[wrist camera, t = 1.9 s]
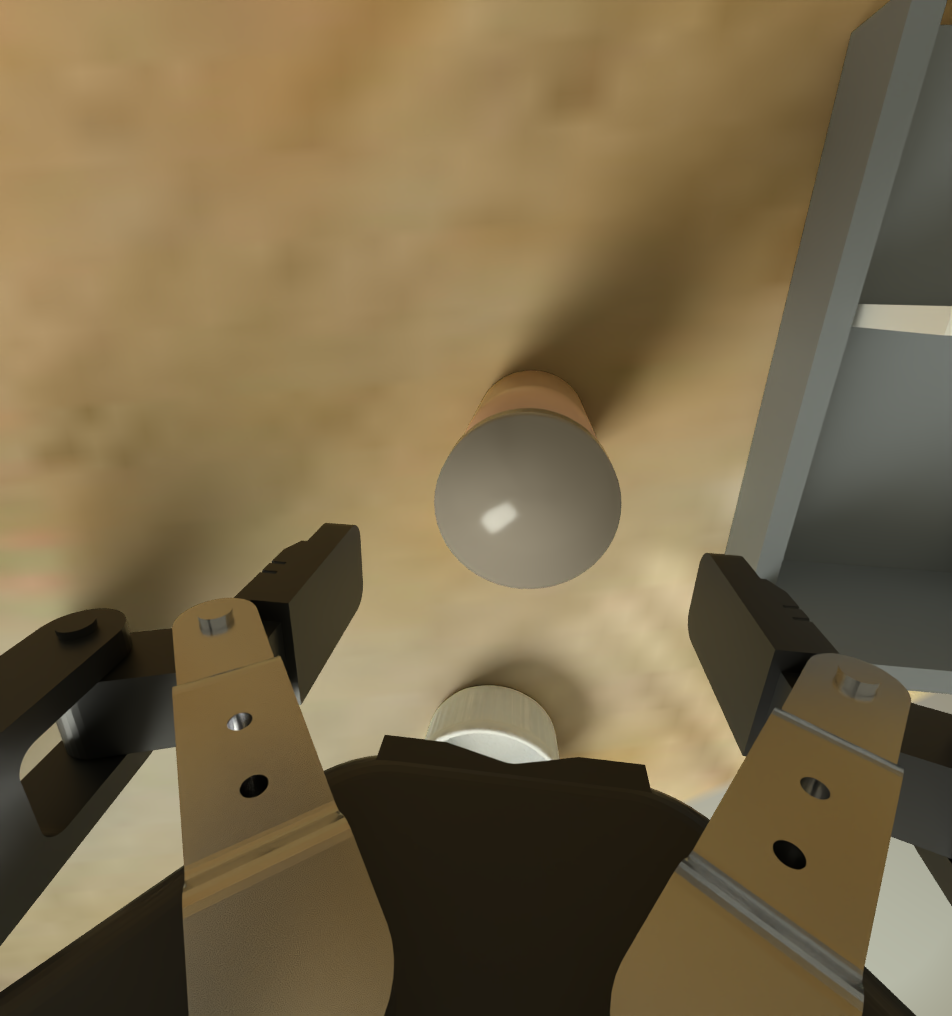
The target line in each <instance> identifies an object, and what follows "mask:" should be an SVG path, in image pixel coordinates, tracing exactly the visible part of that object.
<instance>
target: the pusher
mask: <svg viewBox="0 0 952 1016" xmlns="http://www.w3.org/2000/svg"><path fill="white" fill-rule="evenodd" d="M851 327H861V328H872V329H882V330H892V331H903V332H913V333H924V334H934V335H946V336H952V306H920V305H878V304H858V306H857V309H856V313H855V316H854V319H853V323H852V326H851Z"/></svg>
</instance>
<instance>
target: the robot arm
mask: <svg viewBox="0 0 952 1016" xmlns="http://www.w3.org/2000/svg"><path fill="white" fill-rule="evenodd" d="M362 591H363V576H362V559H361V541H360V532H359V529H358V527H357V526H356V525H346V524H333V523H325V524H323V525H322V526H321V527H320V528H319V530H318V531H317V532H316V533H315V534H314V535H313V536H312V537H311V538H310V539H309V540H308V541H300V542H298V543H296V544H294V545H292V546H290V547H288V548H286V549H284V550H283V551H282V552H281V553H280V554H279V555H278V556H277V557H275V558H274V559H273V560H272V563H269V564H268V565H267V566H266V567H265V568H264V569H263V571H262V573H261V572H260V573H259V574H258V575H257V576H256V577H255V578H254V579H253V580H252V581H251V582H250V583H249V584H248V585H247V586H245V587H244V588H243V589H242V590H241V591H240V592H239V593H238V594H237V595H236V596H235V597H234V598H221V599H215V600H211V601H207V602H204V603H201V604H198V605H196V606H194V607H191V608H190V609H188V610H186V611H185V612H183V613H182V614H181V615H180V616H179V617H178V618H177V619H176V620H175V621H174V624H173V627H172V628H171V629H162V630H152V631H143V632H133V633H130V632H129V628H128V624H127V620H126V617H125V615H124V614H123V613H122V612H120V611H118V610H114V609H91V610H84V611H80V612H76V613H72V614H69V615H66V616H63V617H60V618H58V619H56V620H53V621H51V622H49V623H48V624H46V625H44V626H42V627H41V628H39V629H38V630H36V631H35V632H34V633H32V634H31V635H29V636H28V637H26V638H25V639H24V640H22V641H21V642H19V643H18V644H16V645H15V646H14V647H12V648H11V649H9V650H8V651H6V652H5V653H4V654H2V655H1V656H0V946H1V944H2V943H3V942H4V941H5V939H6V938H7V937H8V936H9V934H10V933H11V932H12V930H13V929H14V928H15V927H16V925H17V924H18V923H19V921H20V920H21V919H22V918H23V916H24V915H25V914H26V913H27V911H28V910H29V909H30V907H31V906H32V905H33V904H34V902H35V901H36V900H37V898H38V897H39V896H40V895H41V893H42V892H43V891H44V890H45V888H46V887H47V886H48V884H49V883H50V882H51V881H52V879H53V878H54V877H55V875H56V874H57V873H58V872H59V870H60V869H61V868H62V867H63V865H64V864H65V863H66V861H67V860H68V859H69V858H70V856H71V855H72V854H73V852H74V851H75V850H76V849H77V847H78V846H79V845H80V844H81V842H82V841H83V840H84V838H85V837H86V836H87V835H88V833H89V832H90V831H91V829H92V828H93V827H94V826H95V824H96V823H97V822H98V821H99V819H100V818H101V817H102V815H103V814H104V813H105V812H106V810H107V809H108V808H109V807H110V805H111V804H112V803H113V801H114V800H115V799H116V798H117V796H118V795H119V794H120V792H121V791H122V790H123V789H124V787H125V786H126V785H127V784H128V782H129V781H130V780H131V778H132V777H133V776H134V775H135V773H136V772H137V771H138V769H139V768H140V767H141V766H142V764H143V763H144V762H145V761H146V759H147V758H148V757H149V755H150V754H151V753H152V751H153V750H158V749H164V748H171V747H176V756H177V770H178V785H179V799H180V814H181V828H182V843H183V857H184V866H182V867H181V868H179V869H178V870H176V871H175V872H173V873H172V874H171V875H169V876H168V877H166V878H165V879H163V880H162V881H160V882H159V883H158V884H156V885H155V886H153V887H152V888H150V889H149V890H147V891H146V892H144V893H143V894H142V895H140V896H139V897H137V898H136V899H134V900H133V901H131V902H130V903H129V904H127V905H126V906H124V907H123V908H121V909H120V910H118V911H117V912H116V913H114V914H113V915H111V916H110V917H108V918H107V919H105V920H104V921H103V922H101V923H100V924H98V925H97V926H95V927H94V928H92V929H91V930H90V931H88V932H87V933H85V934H84V935H82V936H81V937H79V938H78V939H77V940H75V941H74V942H72V943H71V944H69V945H68V946H66V947H65V948H64V949H62V950H61V951H59V952H58V953H56V954H55V955H53V956H52V957H50V958H49V959H48V960H46V961H45V962H43V963H42V964H40V965H39V966H37V967H36V968H35V969H33V970H32V971H30V972H29V973H27V974H26V975H24V976H23V977H22V978H20V979H19V980H17V981H16V982H14V983H13V984H11V985H10V986H9V987H7V988H6V989H4V990H3V991H1V992H0V1016H916V1015H915V1014H914V1013H913V1012H912V1011H911V1010H910V1009H909V1008H908V1007H907V1006H906V1005H904V1004H903V1003H902V1002H901V1001H900V1000H899V999H898V998H897V997H896V996H895V995H894V994H893V993H892V992H891V991H890V990H889V989H888V988H887V987H886V986H885V985H884V984H883V983H882V982H881V981H879V980H878V979H877V978H876V977H875V976H874V975H873V974H872V973H871V972H870V971H869V970H868V969H867V968H866V967H865V966H864V965H865V960H866V955H867V950H868V946H869V941H870V936H871V931H872V926H873V921H874V916H875V911H876V906H877V901H878V896H879V892H880V886H881V882H882V877H883V872H884V867H885V862H886V858H887V852H888V848H889V842H890V838H891V837H894V838H896V839H899V840H902V841H905V842H907V843H910V844H912V845H914V846H915V848H916V850H917V852H918V853H919V855H920V856H921V858H922V860H923V861H924V863H925V864H926V866H927V867H928V869H929V871H930V872H931V874H932V875H933V877H934V879H935V880H936V882H937V883H938V885H939V887H940V888H941V890H942V891H943V893H944V895H945V896H946V898H947V899H948V901H949V902H950V904H951V906H952V714H948V713H945V712H941V711H938V710H934V709H931V708H927V707H924V706H920V705H917V704H914V703H911V697H910V695H909V693H908V691H907V690H906V688H905V687H904V686H903V685H902V684H901V683H900V682H899V681H898V680H897V679H896V678H894V677H893V676H891V675H890V674H889V673H887V672H885V671H884V670H882V669H880V668H878V667H876V666H874V665H872V664H870V663H868V662H865V661H863V660H860V659H857V658H854V657H850V656H846V655H841V654H839V652H838V651H837V650H836V649H835V648H834V647H833V645H832V644H831V643H830V642H829V641H828V640H827V638H826V637H825V636H824V635H823V634H822V633H821V631H820V630H819V629H818V628H817V627H816V626H815V624H814V623H813V622H810V621H809V617H808V616H807V615H806V614H805V613H804V612H803V611H802V609H799V606H798V605H797V604H796V602H795V601H794V600H793V599H792V598H791V597H790V595H789V594H788V593H787V592H786V591H784V590H783V589H781V588H779V587H778V586H776V585H775V584H773V583H772V582H770V581H768V580H767V579H761V578H760V577H759V576H758V575H757V573H756V572H755V571H754V570H753V568H752V567H751V566H750V565H749V564H748V562H747V561H746V560H745V559H744V557H742V556H738V555H725V554H712V553H705V554H704V555H703V557H702V559H701V561H700V565H699V569H698V573H697V578H696V582H695V587H694V592H693V596H692V601H691V605H690V610H689V615H688V631H689V637H690V640H691V642H692V645H693V647H694V649H695V651H696V653H697V656H698V658H699V660H700V662H701V665H702V667H703V669H704V671H705V673H706V676H707V678H708V680H709V682H710V684H711V687H712V689H713V691H714V693H715V696H716V698H717V700H718V702H719V704H720V707H721V709H722V711H723V713H724V715H725V718H726V720H727V722H728V724H729V726H730V729H731V731H732V733H733V735H734V738H735V740H736V742H737V744H738V746H739V749H740V751H741V753H742V755H743V756H746V758H745V760H744V762H743V763H742V765H741V767H740V769H739V770H738V772H737V774H736V776H735V777H734V779H733V781H732V783H731V784H730V786H729V788H728V790H727V791H726V793H725V795H724V797H723V798H722V800H721V802H720V804H719V805H718V807H717V809H716V810H715V812H714V814H713V816H712V817H711V819H710V820H709V819H708V818H707V817H705V816H704V815H702V814H701V813H699V812H697V811H696V810H694V809H693V808H692V807H690V806H688V805H686V804H685V803H683V802H681V801H679V800H677V799H676V798H673V797H671V796H669V795H667V794H665V793H662V792H660V791H657V790H654V789H652V788H650V784H649V780H648V776H647V771H646V767H645V765H641V764H633V763H624V762H615V761H607V760H598V759H589V758H581V757H577V758H567V759H557V760H548V761H538V762H528V763H519V764H512V763H506V762H503V761H500V760H497V759H494V758H491V757H488V756H486V755H483V754H480V753H477V752H474V751H471V750H468V749H465V748H462V747H459V746H457V745H454V744H451V743H448V742H442V741H433V740H425V739H416V738H407V737H399V736H390V735H385V736H384V739H383V742H382V744H381V747H380V750H379V753H378V755H377V756H369V757H364V758H359V759H355V760H351V761H348V762H345V763H342V764H339V765H336V766H334V767H332V768H329V769H327V770H325V771H323V769H322V766H321V763H320V761H319V758H318V755H317V752H316V750H315V747H314V744H313V742H312V739H311V736H310V734H309V731H308V728H307V726H306V723H305V720H304V718H303V715H302V712H301V709H300V707H299V705H301V704H302V703H303V701H304V699H305V697H306V696H307V694H308V692H309V691H310V689H311V687H312V686H313V684H314V682H315V681H316V679H317V677H318V675H319V674H320V672H321V670H322V669H323V667H324V665H325V664H326V662H327V660H328V658H329V657H330V655H331V653H332V652H333V650H334V648H335V647H336V645H337V643H338V642H339V640H340V638H341V636H342V635H343V633H344V631H345V630H346V628H347V626H348V625H349V623H350V621H351V620H352V618H353V616H354V614H355V613H356V611H357V609H358V607H359V605H360V602H361V598H362ZM55 722H56V724H57V727H58V730H59V733H60V735H61V738H62V740H61V741H60V742H59V743H58V744H57V745H56V746H55V747H54V748H53V749H52V750H51V751H50V752H49V753H48V754H47V755H46V756H45V757H44V758H43V759H42V760H41V761H40V762H39V763H38V764H37V765H36V766H35V767H34V768H33V769H32V770H31V771H30V772H29V773H28V774H27V775H26V776H25V777H24V778H23V779H22V780H21V781H20V775H19V773H20V767H21V763H22V760H23V758H24V756H25V754H26V752H27V751H28V749H29V748H30V747H31V745H32V744H33V743H34V742H35V741H36V740H37V739H38V738H39V737H40V736H41V735H42V734H44V733H45V732H46V731H47V730H48V729H49V728H50V727H51V726H52V725H53V724H54V723H55Z"/></svg>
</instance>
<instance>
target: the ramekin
mask: <svg viewBox="0 0 952 1016" xmlns="http://www.w3.org/2000/svg"><path fill="white" fill-rule="evenodd" d="M425 740H433V741H442V742H448V743H451V744H454V745H457V746H459V747H462V748H465V749H468V750H471V751H474V752H477V753H480V754H483V755H486V756H488V757H491V758H494V759H497V760H500V761H503V762H506V763H512V764H519V763H528V762H538V761H548V760H557V759H559V753H558V746H557V740H556V734H555V730H554V726H553V723H552V721H551V719H550V717H549V716H548V714H547V713H546V711H545V710H544V709H543V708H542V707H541V706H540V705H539V704H538V703H537V702H536V701H535V700H533V699H532V698H530V697H529V696H527V695H525V694H523V693H521V692H519V691H517V690H514V689H511V688H507V687H502V686H495V685H483V686H475V687H470V688H466V689H463V690H461V691H459V692H457V693H455V694H454V695H452V696H451V697H449V698H448V699H447V700H445V701H444V702H443V703H442V704H441V705H440V706H439V708H438V709H437V710H436V712H435V714H434V716H433V718H432V720H431V723H430V725H429V729H428V732H427V735H426V738H425Z"/></svg>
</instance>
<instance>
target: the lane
mask: <svg viewBox="0 0 952 1016" xmlns="http://www.w3.org/2000/svg"><path fill="white" fill-rule="evenodd" d="M946 2H947V0H890V1H889V2H888V3H887V4H885V5H884V6H883V7H882V8H881V9H879V10H878V11H877V12H876V13H875V14H873V15H872V16H871V17H870V18H869V19H867V20H866V21H865V22H864V23H863V24H862V25H860V26H859V27H858V28H857V29H856V30H854V31H853V32H852V33H851V37H850V41H849V45H848V49H847V53H846V57H845V61H844V66H843V70H842V74H841V78H840V82H839V86H838V90H837V94H836V99H835V103H834V107H833V111H832V115H831V119H830V123H829V127H828V131H827V136H826V140H825V144H824V148H823V152H822V156H821V160H820V164H819V169H818V173H817V177H816V181H815V185H814V189H813V193H812V197H811V201H810V206H809V210H808V214H807V218H806V222H805V226H804V230H803V234H802V239H801V243H800V247H799V251H798V255H797V259H796V263H795V267H794V271H793V276H792V280H791V284H790V288H789V292H788V296H787V300H786V304H785V309H784V313H783V317H782V321H781V325H780V329H779V333H778V337H777V341H776V346H775V350H774V354H773V358H772V362H771V366H770V370H769V374H768V378H767V383H766V387H765V391H764V395H763V399H762V403H761V407H760V411H759V416H758V420H757V424H756V428H755V432H754V436H753V440H752V444H751V448H750V453H749V457H748V461H747V465H746V469H745V473H744V477H743V481H742V486H741V490H740V494H739V498H738V502H737V506H736V510H735V514H734V518H733V523H732V527H731V531H730V535H729V539H728V543H727V547H726V551H725V555H738V556H742V557H744V559H745V560H746V561H747V562H748V564H749V565H750V566H751V567H752V568H753V570H754V571H755V572H756V573H757V575H758V576H759V577H760V578H761V579H767V580H768V581H770V582H772V583H773V584H775V585H776V586H778V587H779V588H781V589H783V590H784V591H786V592H787V593H788V594H789V595H790V597H791V598H792V599H793V600H794V601H795V602H796V604H797V605H798V606H799V609H802V611H803V612H804V613H805V614H806V615H807V616H808V617H809V621H810V622H813V623H814V624H815V626H816V627H817V628H818V629H819V630H820V631H821V633H822V634H823V635H824V636H825V637H826V638H827V640H828V641H829V642H830V643H831V644H832V645H833V647H834V648H835V649H836V650H837V651H838V652H839V654H841V655H846V656H850V657H854V658H857V659H860V660H863V661H865V662H868V663H870V664H872V665H874V666H876V667H878V668H880V669H882V670H884V671H885V672H887V673H889V674H890V675H891V676H893V677H894V678H896V679H897V680H898V681H899V682H900V683H901V684H902V685H903V686H904V687H905V688H906V690H910V691H921V692H932V693H942V694H943V693H944V694H952V336H946V335H934V334H924V333H913V332H903V331H892V330H882V329H872V328H861V327H851V326H852V323H853V319H854V316H855V313H856V309H857V306H858V304H878V305H920V306H952V25H940V23H941V19H942V16H943V13H944V9H945V6H946Z"/></svg>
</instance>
